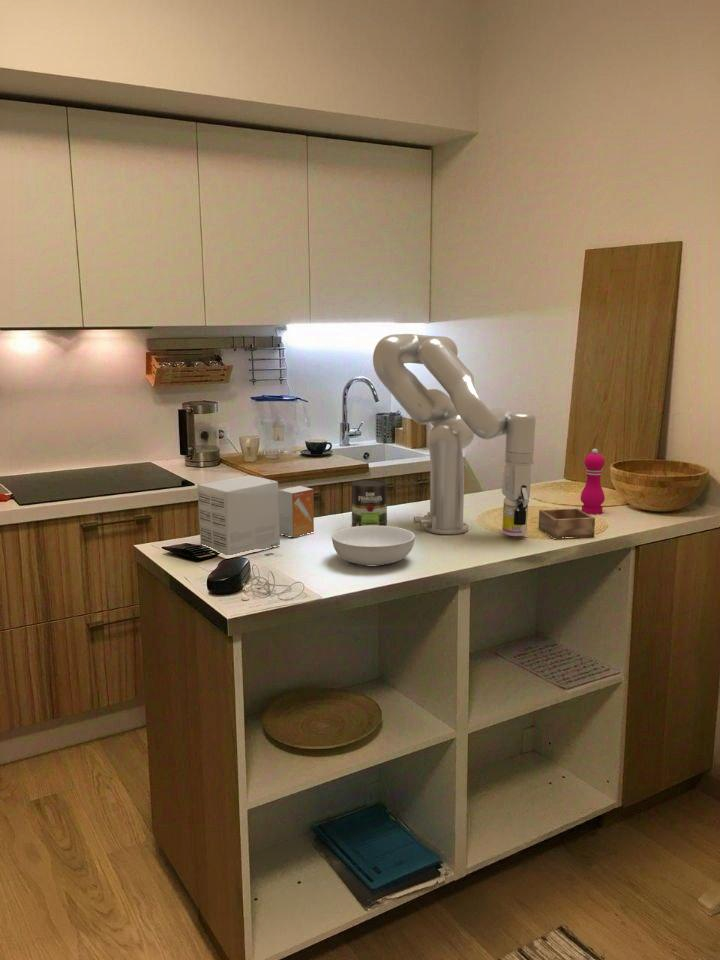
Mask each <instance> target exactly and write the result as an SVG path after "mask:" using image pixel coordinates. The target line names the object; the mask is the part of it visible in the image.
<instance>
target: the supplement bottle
mask: <svg viewBox="0 0 720 960" xmlns="http://www.w3.org/2000/svg"><path fill="white" fill-rule="evenodd" d="M518 499H522V498H518ZM520 503H522V502H519V505H520ZM515 510H516V505H515V501H512V500H510V499H509V498H507V497H506V496H505V498H504V499H503V512H502V525H501V526H502V527H501V528H502V530H501V531H502V534H504V535H506V536H511V537H523V536H525V535H526V534H527V530H528V512H529V505H528V506H527V511H526V524H525V525H514V511H515Z"/></svg>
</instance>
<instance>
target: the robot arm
mask: <svg viewBox="0 0 720 960" xmlns="http://www.w3.org/2000/svg"><path fill="white" fill-rule="evenodd" d="M458 353H459V351H458V347H457V345H456V343H455V342H454V340H452V339H451V338H450V337H448V336H442V335H441V336H439V335H438V336H437V335H424V334H416V333H415V334H413V333H400V334H399V333H397V334H389V335H386V336H384V337H382V338H381V339H380V340H379V341H378V342H377V343H376V345H375V347H374V350H373V354H372V364H373V369H374V372H375V374H376V377H377V378H378V379H379V381H380V382H381V383H382V385H383V386H384V387H385V388H386V389H387V391H389V393H390V394H391V395H392V396H393V398H394V399H395V400H396V401H397V402H398V404H399V405H400V406H401V407H402V409H403V410H404V411H405V412H406V413H407V415H408V416H409V417H410V418H411V420H412V421H414V422H415V423H416V424H418V425H429V424H431V426H433V427H431V429H430V431H429V435H428V438H427V439H428V441H427V443H428V450H429V451H428V452H429V461H430V466H429V467H430V473H429V474H430V475H429V476H430V480H429V481H430V483H429V484H430V486H429V488H430V489H429V490H430V492H429V495H430V497H429V500H430V501H429V502H430V503H429V504H430V505H429V511H427V514H424V516H413V523H414V524H419V525H424V530H426V531H427V532H429V533H432V534H437V535H458V534H463V533H466V532H467V531H469V524H468V523H467V522H464V507H465V506H464V498H465V497H464V496H465V495H464V494H465V493H464V492H465V463H464V462H465V461H464V456H463V449H465V448H467V447H468V446H470V444H471V443H472V442H473V440H474V438H475V436H477V437H478V438H479V439H482V440H492V439H495V438H497V437H500V436H505V451H504V463H505V464H504V469H503V474H502V475H503V476H502V484H501V485H502V486H501V494H502V495H504V496H505V498H506V497H507V498H509V499H510V500H512V501H515V505H516V510H515V511H514V525H525V524H526V511H527V506H528V507H529V502H530V497H531V496H530V495H531V486H532V485H531V483H532V482H531V481H532V480H531V479H532V478H531V477H532V475H531V472H532V471H531V470H532V469H531V468H532V467H531V465H533V463H534V447H535V433H536V415H535V414H534V413H532V412H527V411H511V410H507V409H503V408H491V409H489V408H488V407H487V406H486V404H485V402H483V401H482V399H481V398H480V396H479V395H478V393H477V391H476V389H475V388H476V387H475V380H474V375H473V373H472V372H471V370H470V369H469V368H468V367H467V366H466V364H465V363H464V362H463V361H462V359H460V358H459V357H458ZM405 364H418V365H423V366H424V367H425V368H426V370H427V371H429V373H430V374H431V375H432V376H433V377H434V378H435V380H436V381H437V382H438V383H439V385H440V386H441V387H442V388H443V390H444V391H446V393H445V392H444V391H442V390H439V389H437V388H429V389H428V388H427V387H426V386H425V385H424V384H423V383H422V382H421V381H420V380H419V378H418V377H417V376H416V374H414V373H413V372H412V371H411V370H409V369H408V368H407V367H406V366H405ZM518 498H522V499H518ZM519 502H522V503H520V505H519Z"/></svg>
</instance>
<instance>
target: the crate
mask: <svg viewBox="0 0 720 960" xmlns="http://www.w3.org/2000/svg"><path fill="white" fill-rule="evenodd" d="M595 525H596V517H594V516H592V515H591V514H587V513H585V512H583V511H582V509H579V508H576V507H575V508H556V509H554V508H553V509H539V511H538V529H539V530H540V529H541V530H542V531H541V530H540V531H541V532H543V531H544V532H546V533H547V534H549V535H550V536H552V537H553V538H562V537H564V538H565V537H574V538H573V539H587V538H589V539H590V538H595ZM544 532H543V533H544ZM547 534H546V535H547ZM550 536H549V537H550ZM575 537H577V538H575ZM578 537H579V538H578ZM553 538H552V539H553Z"/></svg>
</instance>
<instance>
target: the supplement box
mask: <svg viewBox="0 0 720 960" xmlns="http://www.w3.org/2000/svg"><path fill="white" fill-rule="evenodd" d="M196 487H197V502H198V520H199V534H200V535H199V536H200V538H199V539H200V540H199V541H200V545H201V544H203V545H206V546H208V547H211V548H213V549H215V550H217V551H218V552H220V553H223V554H225V555H233V554H237V553H240V552H245V551H249V550H254V549H266V548H270V547H273V546H278V545H280V546H281V538H280V533H279V501H278V490H279V481H277V480H272V479H270V478H269V479H268V478H265V477H260V476H256V475H250V474H247V475H244V476H239V477H234V478H233V477H232V478H228V479H222V480H218V481H212V482H207V483H201V484H197V485H196Z"/></svg>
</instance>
